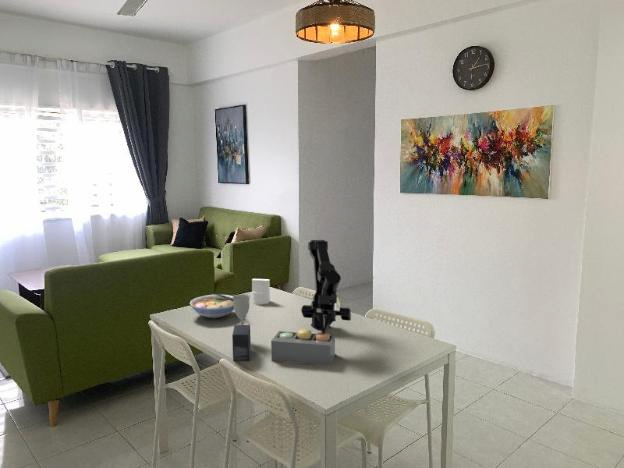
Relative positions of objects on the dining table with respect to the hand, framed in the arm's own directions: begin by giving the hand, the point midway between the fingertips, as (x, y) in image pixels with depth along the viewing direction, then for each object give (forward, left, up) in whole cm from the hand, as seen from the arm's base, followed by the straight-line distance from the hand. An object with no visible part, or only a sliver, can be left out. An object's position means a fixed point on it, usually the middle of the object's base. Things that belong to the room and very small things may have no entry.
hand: (323, 333), depth 180 cm
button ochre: (+6, -4, -3) cm, 8 cm away
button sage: (+11, -8, -4) cm, 15 cm away
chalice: (+21, -31, -9) cm, 38 cm away
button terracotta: (+1, +1, -3) cm, 4 cm away
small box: (+27, -15, -9) cm, 32 cm away
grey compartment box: (+7, -2, -9) cm, 12 cm away
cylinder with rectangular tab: (-6, -76, -9) cm, 77 cm away
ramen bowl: (+22, -65, -9) cm, 69 cm away
